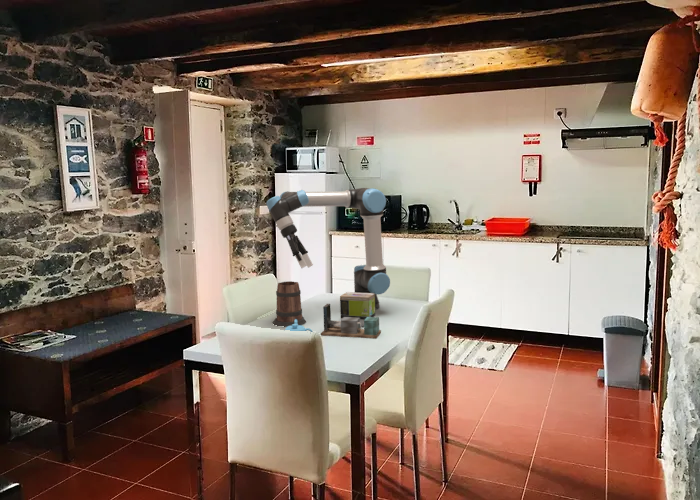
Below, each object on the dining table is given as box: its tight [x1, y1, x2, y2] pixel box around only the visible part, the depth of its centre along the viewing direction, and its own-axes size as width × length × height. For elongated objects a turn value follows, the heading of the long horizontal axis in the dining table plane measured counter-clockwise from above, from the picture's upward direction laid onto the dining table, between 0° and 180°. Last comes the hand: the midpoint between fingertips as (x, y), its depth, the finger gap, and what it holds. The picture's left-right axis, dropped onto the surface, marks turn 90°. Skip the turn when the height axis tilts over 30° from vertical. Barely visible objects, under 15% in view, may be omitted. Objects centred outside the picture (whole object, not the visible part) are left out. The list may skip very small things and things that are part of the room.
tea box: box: [339, 291, 376, 327], centre depth 287 cm, size 15×10×15 cm, turn 71°
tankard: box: [272, 281, 307, 328], centre depth 295 cm, size 24×17×20 cm
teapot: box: [284, 319, 314, 333], centre depth 249 cm, size 15×14×11 cm
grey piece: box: [322, 303, 362, 331], centre depth 272 cm, size 17×6×11 cm, turn 76°
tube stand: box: [320, 316, 382, 339], centre depth 271 cm, size 26×10×8 cm, turn 76°
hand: (307, 266), depth 279 cm, fingers open, 13 cm apart
